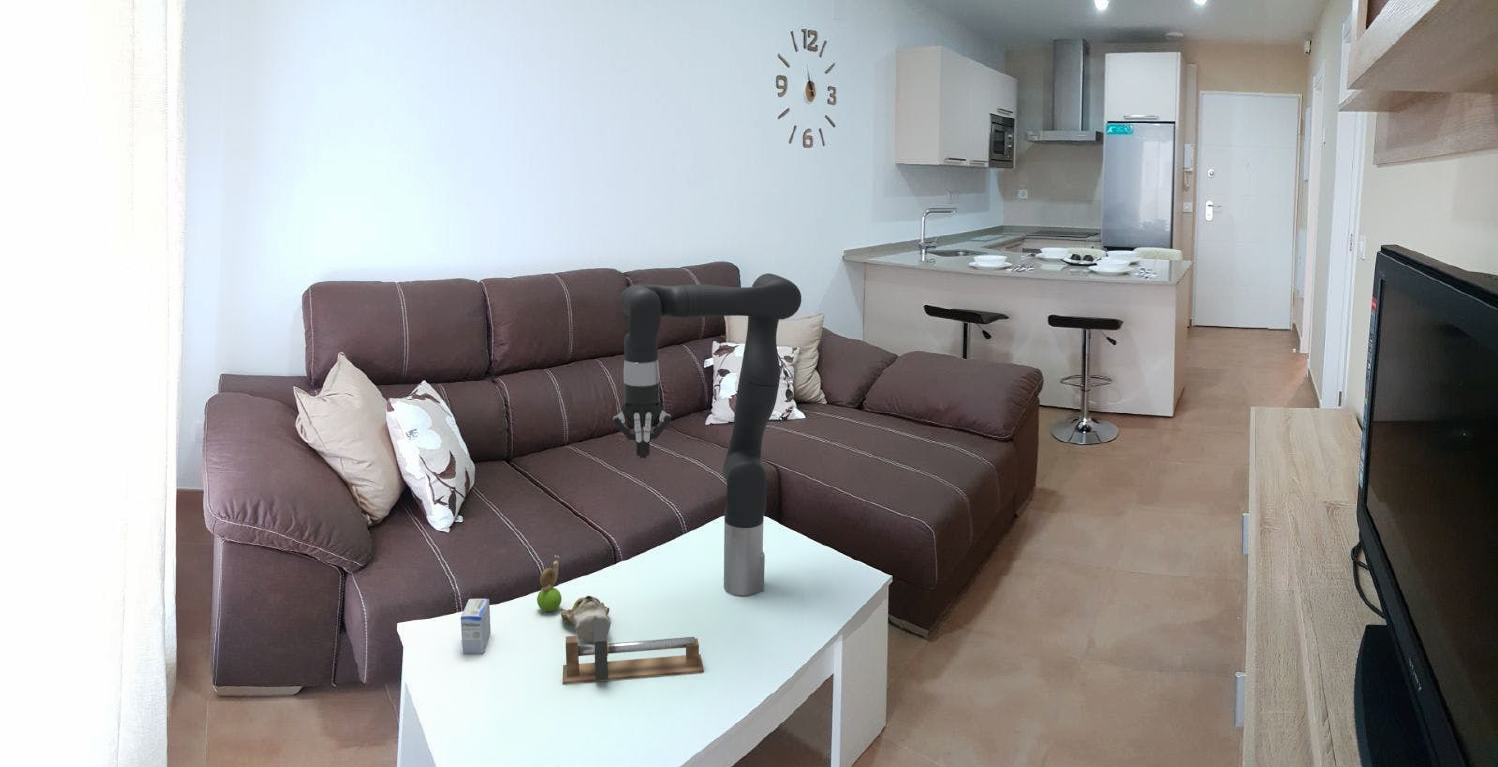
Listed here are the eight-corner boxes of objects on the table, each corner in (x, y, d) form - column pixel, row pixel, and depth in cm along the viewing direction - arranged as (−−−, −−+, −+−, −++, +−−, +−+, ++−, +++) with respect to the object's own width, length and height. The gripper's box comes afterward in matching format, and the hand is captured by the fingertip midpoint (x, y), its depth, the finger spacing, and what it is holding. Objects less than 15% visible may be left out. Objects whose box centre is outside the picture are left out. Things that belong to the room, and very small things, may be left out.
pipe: (694, 644, 192) (694, 632, 192) (695, 650, 190) (695, 639, 189) (569, 654, 188) (569, 642, 187) (569, 661, 185) (569, 649, 185)
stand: (700, 656, 195) (700, 622, 193) (703, 672, 189) (704, 636, 187) (563, 667, 190) (561, 632, 188) (562, 684, 185) (561, 648, 182)
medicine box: (470, 634, 202) (467, 598, 200) (491, 634, 203) (489, 597, 200) (462, 654, 195) (459, 616, 192) (484, 653, 195) (481, 616, 193)
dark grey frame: (606, 656, 193) (605, 619, 190) (607, 679, 185) (606, 640, 182) (594, 657, 192) (593, 620, 190) (595, 680, 184) (594, 641, 182)
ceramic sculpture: (569, 613, 194) (557, 585, 208) (571, 651, 196) (558, 621, 210) (620, 605, 198) (604, 578, 212) (621, 643, 200) (605, 614, 213)
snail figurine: (569, 605, 215) (567, 557, 212) (552, 618, 210) (550, 568, 206) (549, 600, 217) (547, 552, 214) (532, 612, 212) (530, 564, 209)
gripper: (671, 374, 204) (671, 450, 209) (609, 376, 202) (611, 452, 206) (674, 383, 197) (674, 461, 201) (610, 385, 195) (612, 464, 199)
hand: (642, 457), depth 204 cm, fingers closed
